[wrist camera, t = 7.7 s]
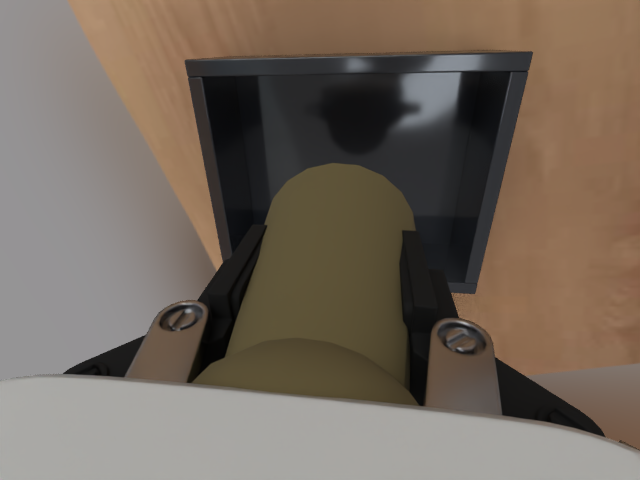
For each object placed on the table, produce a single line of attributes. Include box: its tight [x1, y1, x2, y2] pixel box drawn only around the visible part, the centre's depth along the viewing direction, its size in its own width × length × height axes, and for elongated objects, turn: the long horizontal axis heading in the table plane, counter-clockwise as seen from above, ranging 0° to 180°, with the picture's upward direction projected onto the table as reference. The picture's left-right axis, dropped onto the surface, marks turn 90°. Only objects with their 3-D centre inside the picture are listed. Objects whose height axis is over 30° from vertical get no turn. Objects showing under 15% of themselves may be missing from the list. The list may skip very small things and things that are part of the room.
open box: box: [185, 50, 533, 294], centre depth 22 cm, size 14×17×6 cm
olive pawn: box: [191, 163, 419, 406], centre depth 9 cm, size 6×6×11 cm
